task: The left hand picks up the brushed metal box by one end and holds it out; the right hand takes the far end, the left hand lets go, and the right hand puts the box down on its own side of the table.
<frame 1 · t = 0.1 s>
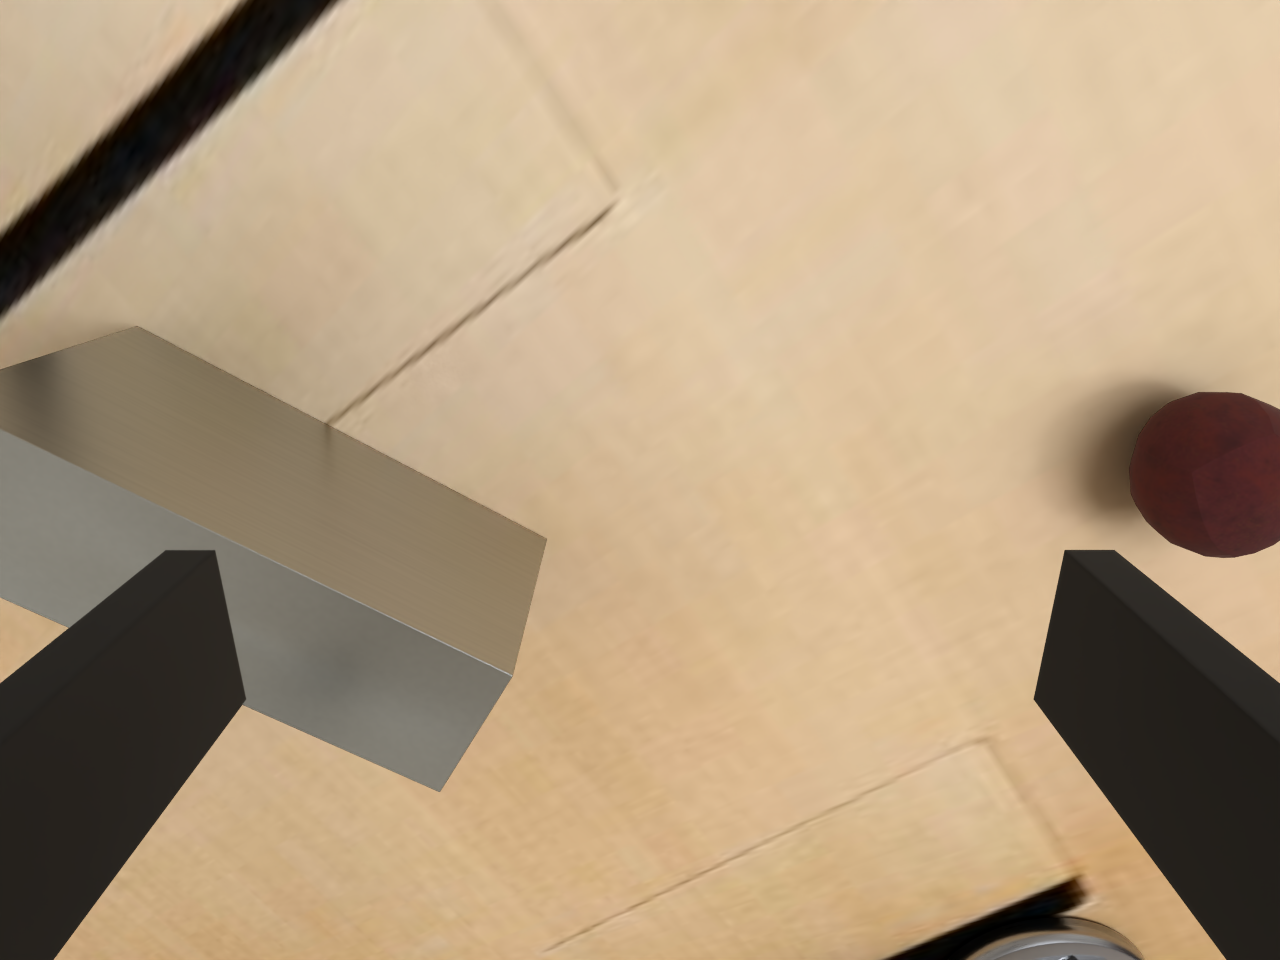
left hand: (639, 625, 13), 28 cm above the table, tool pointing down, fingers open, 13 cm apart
dark red ball: (1170, 446, 41), on the table
box: (327, 489, 42), on the table
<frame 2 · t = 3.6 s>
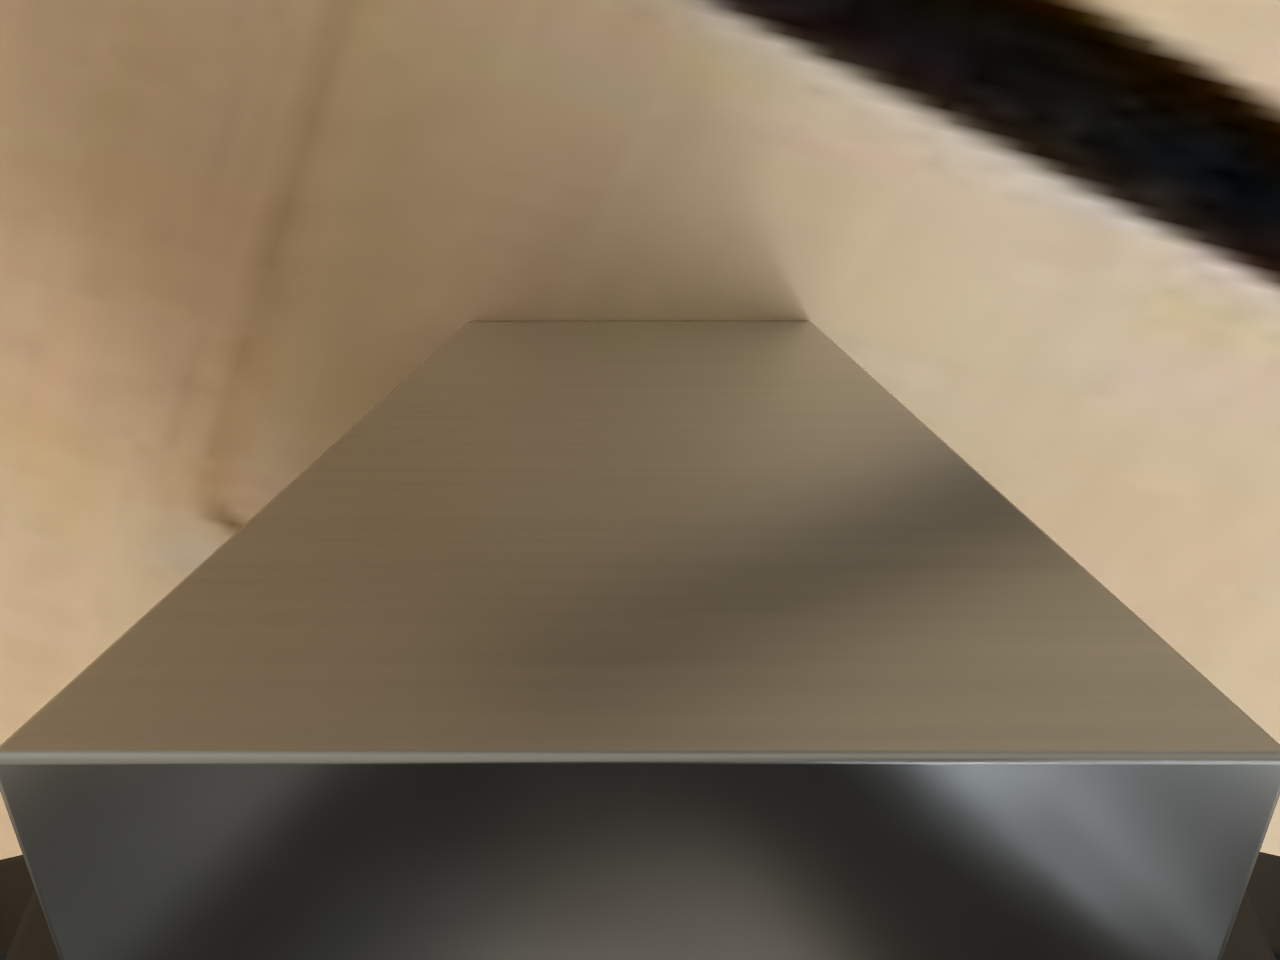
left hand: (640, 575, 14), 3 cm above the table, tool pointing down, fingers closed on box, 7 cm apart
box: (640, 782, 20), on the table, touching left hand
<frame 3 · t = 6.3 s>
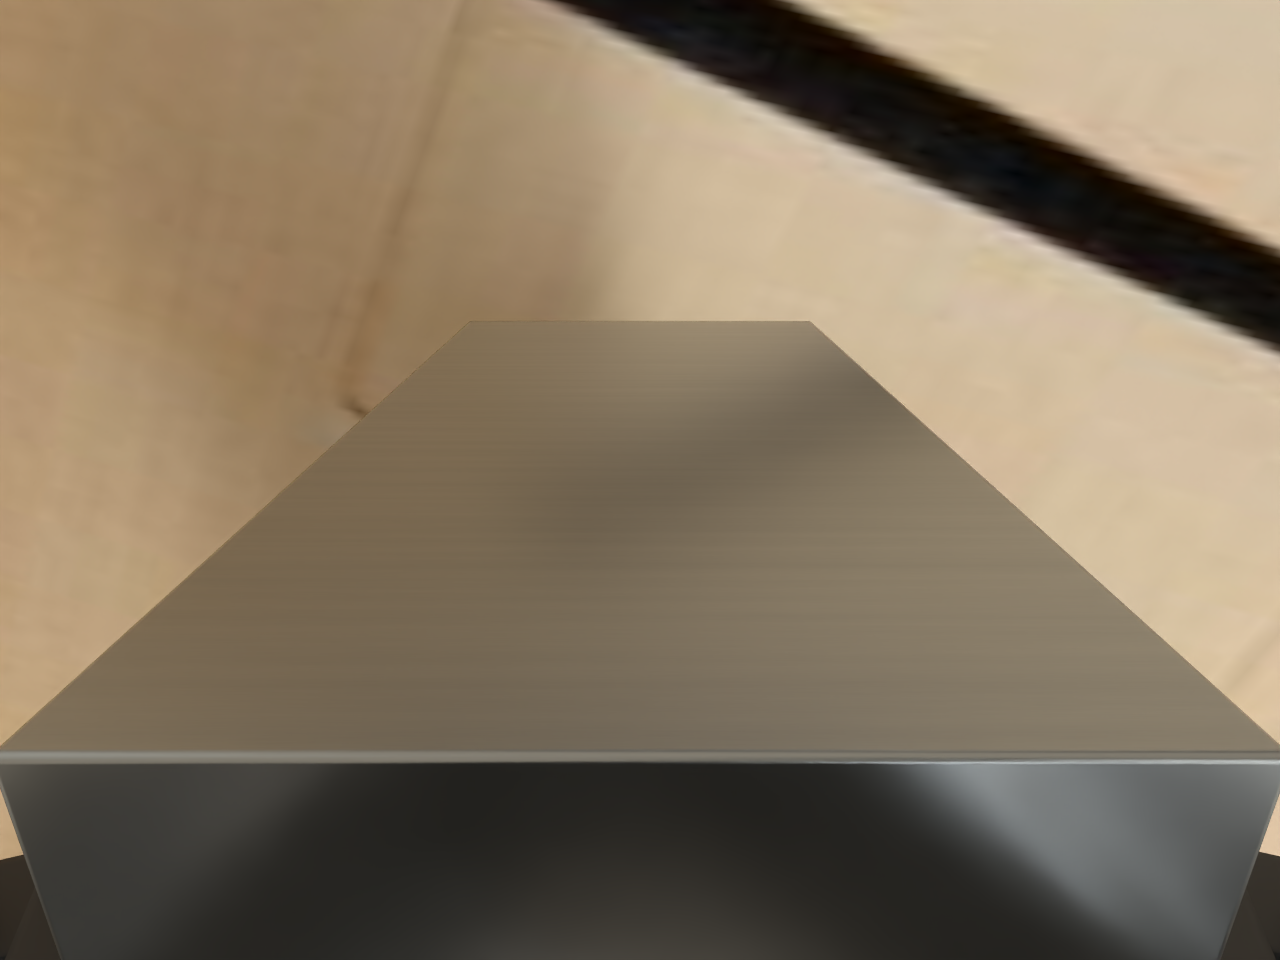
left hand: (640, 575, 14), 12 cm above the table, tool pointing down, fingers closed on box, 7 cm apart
box: (640, 782, 20), point 9 cm above the table, touching left hand
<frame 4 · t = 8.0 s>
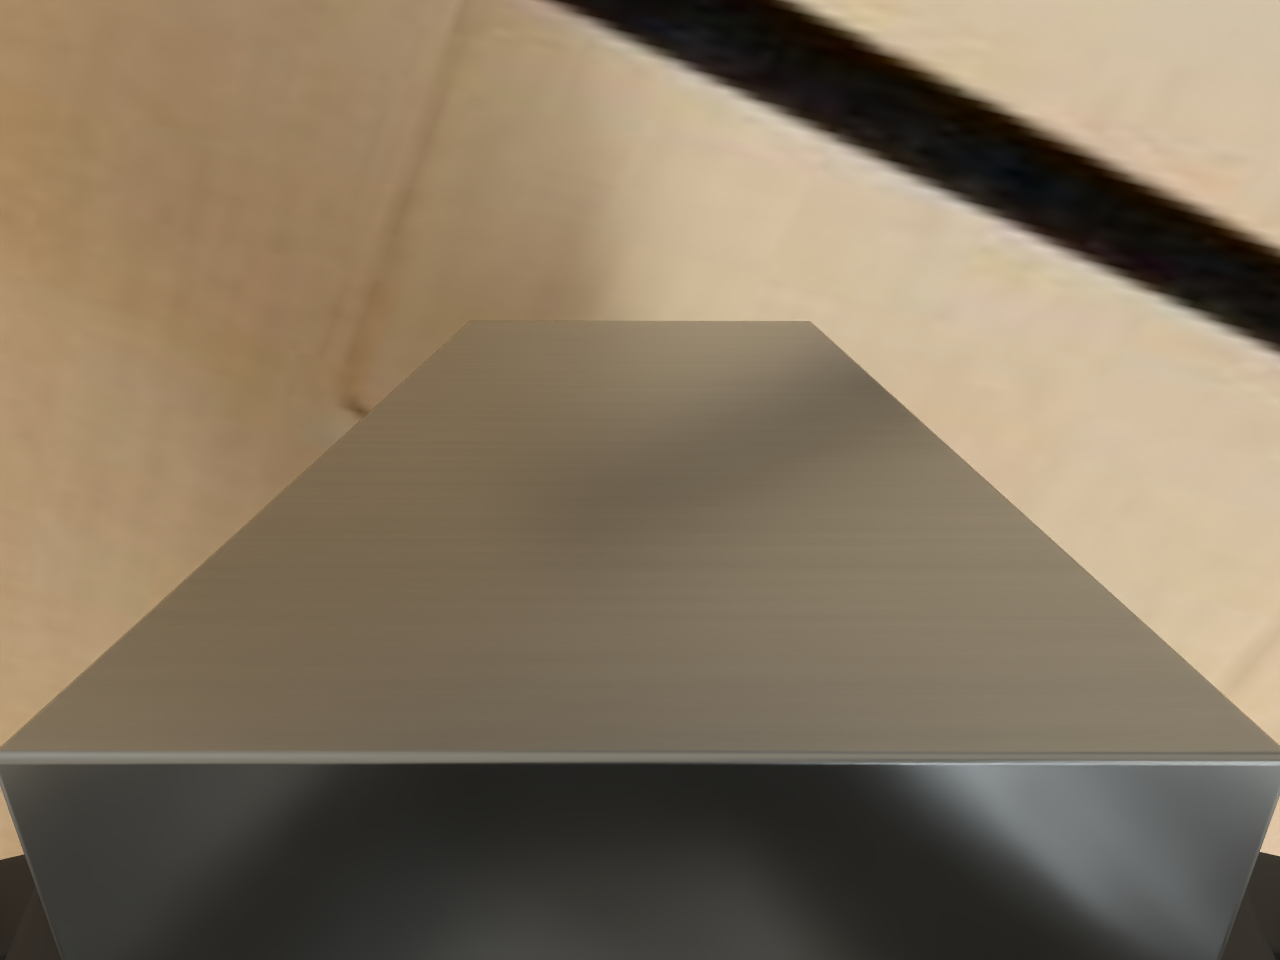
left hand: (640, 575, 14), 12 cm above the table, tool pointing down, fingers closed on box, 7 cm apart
box: (639, 782, 20), point 9 cm above the table, touching left hand, right hand
when the left hand's fingers open (12 cm above the table, at t = 9.0 s): box stays where it is, held by the right hand.
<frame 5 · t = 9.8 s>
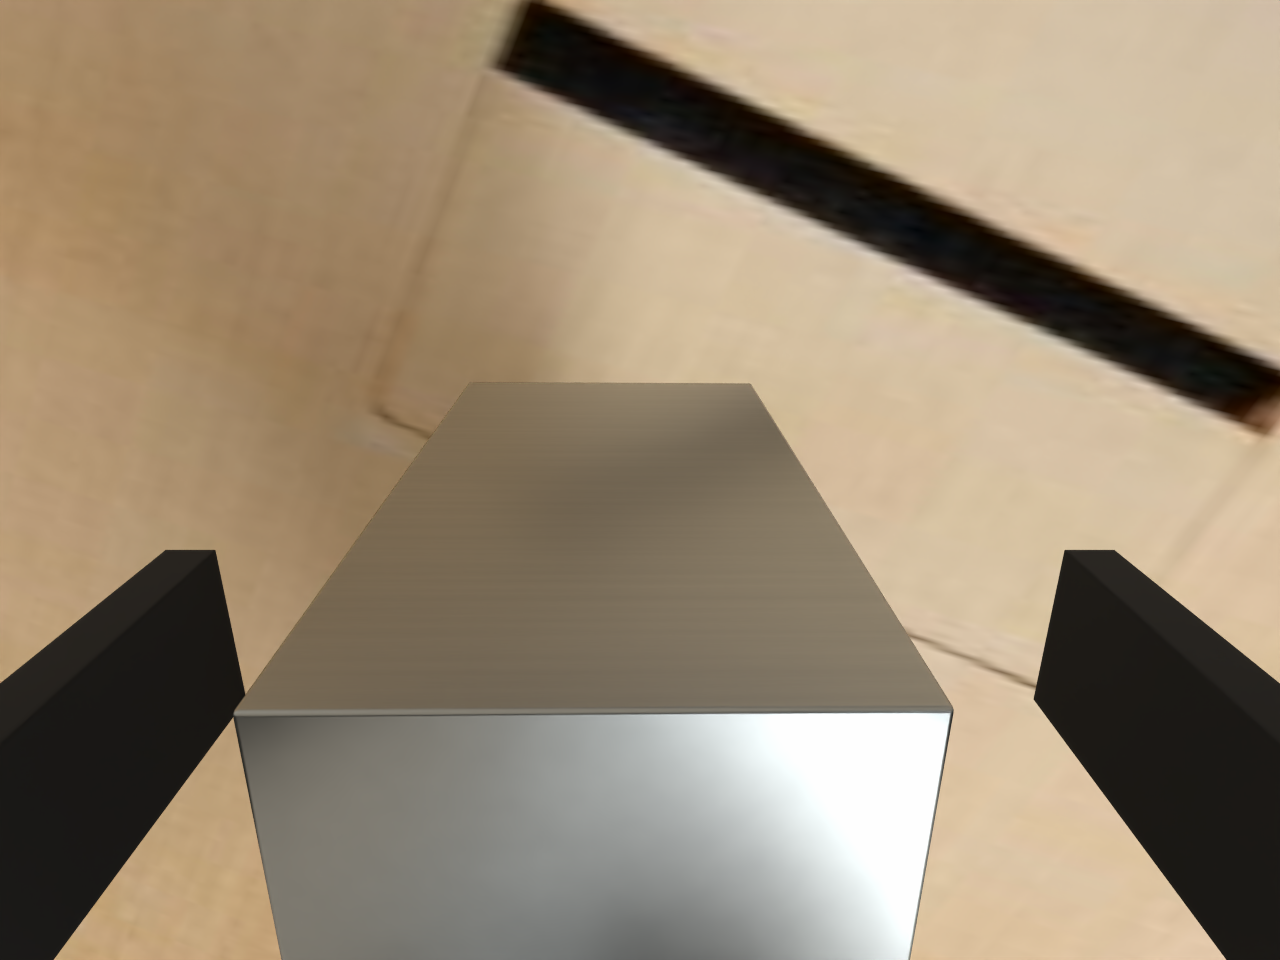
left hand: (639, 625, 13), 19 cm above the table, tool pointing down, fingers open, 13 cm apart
box: (611, 768, 23), point 11 cm above the table, touching right hand
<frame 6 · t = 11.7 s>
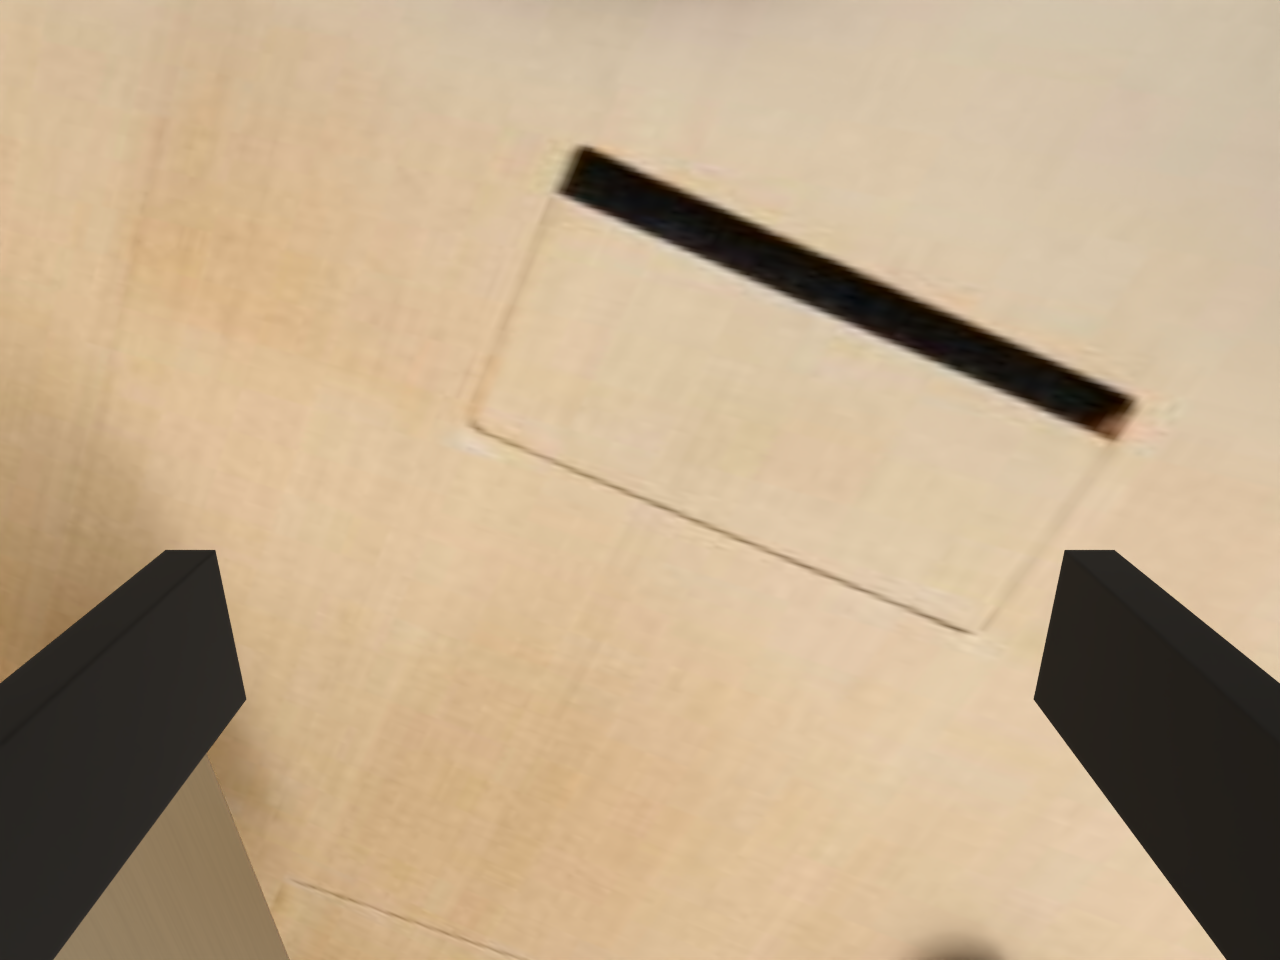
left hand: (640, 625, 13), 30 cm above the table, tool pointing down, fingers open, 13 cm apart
box: (201, 904, 41), point 11 cm above the table, touching right hand
when the right hand's fingers open (4 cm above the table, at t = 15.3 s): box drops 1 cm, on the table.
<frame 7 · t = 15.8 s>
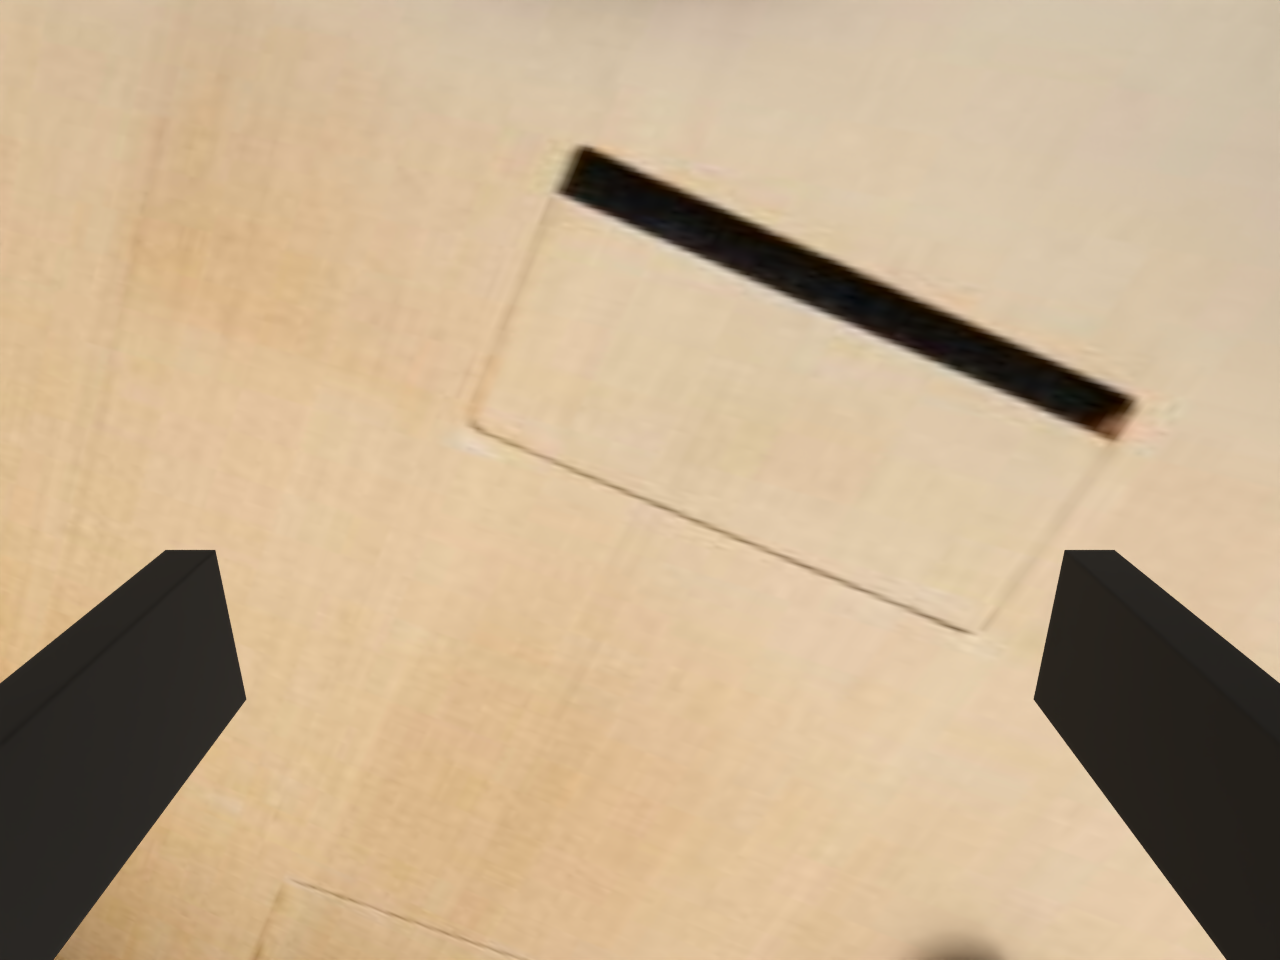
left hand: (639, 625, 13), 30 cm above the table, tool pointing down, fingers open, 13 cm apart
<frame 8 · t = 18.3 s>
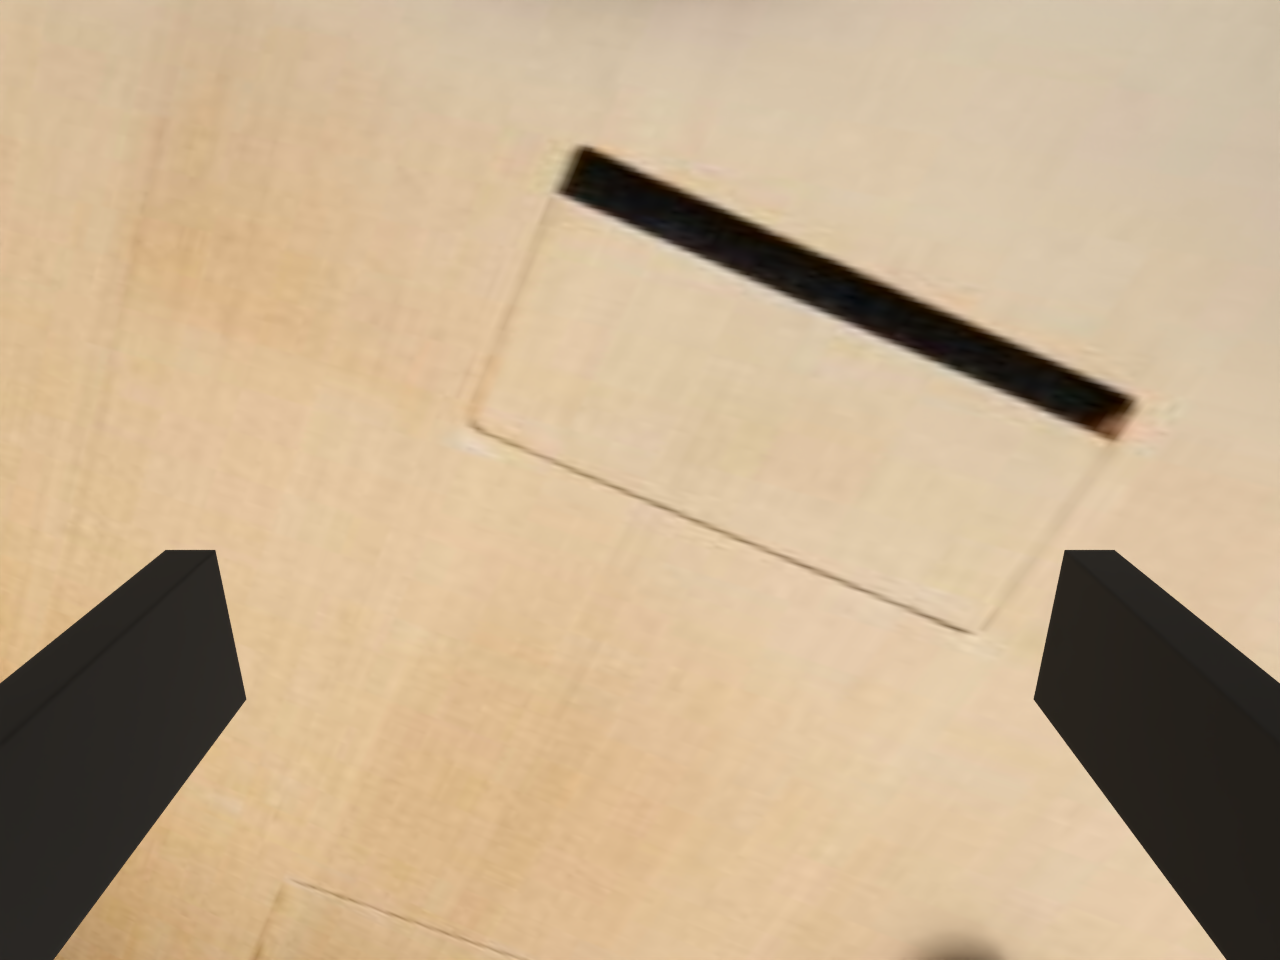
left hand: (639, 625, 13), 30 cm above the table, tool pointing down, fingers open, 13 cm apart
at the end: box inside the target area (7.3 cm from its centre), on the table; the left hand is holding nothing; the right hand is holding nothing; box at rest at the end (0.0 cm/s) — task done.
